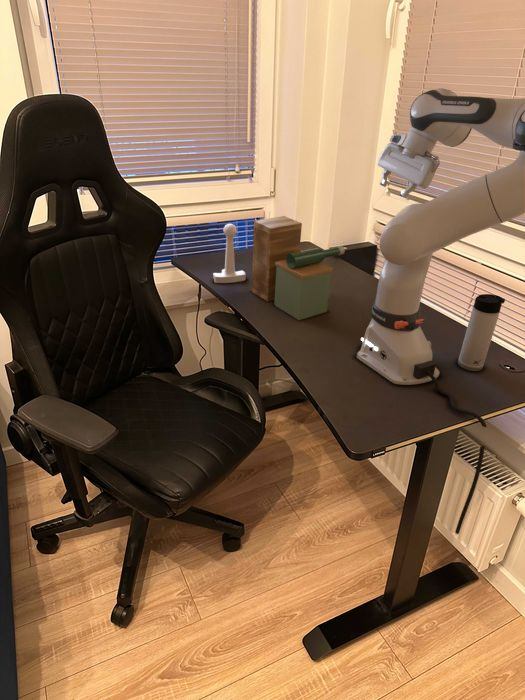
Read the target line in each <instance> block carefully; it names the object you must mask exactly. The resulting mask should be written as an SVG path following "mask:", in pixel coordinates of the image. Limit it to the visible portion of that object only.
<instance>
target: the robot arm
mask: <svg viewBox="0 0 525 700" xmlns="http://www.w3.org/2000/svg"><path fill="white" fill-rule="evenodd" d="M409 122H410V126H411V127H410V128H409V130H408V132H407V133H402V134H392V135H391V136H390V138H389V142H388V143H387V144H386V145H385V146H384V148H383V150H382V151H381V153H380V155H379V157H378V159H377V166H378V167H380V168H381V169H383V170H382V172H381V180H380V182H379V185H380V186H381V187H384V188H386V187H387V186H388V184H389V181H388V177H389V176H390V175H391V173H392V174H393V175H396V176H398V177H400V178H402V179H404V180H406V181H408V182H409V183H408V187H406V188H405V189H402V190H401V192H400V194H399V196H401V197H402V198H404V199H407V198H408V196H409V194H411V193H412V192H413V191H415V190H416V189H417V187H420V188H422V189H423V190H424V189H427V188H429V187H430V185H431V183H432V181H433V179H434V177H435V175H436V172H437V170H438V169H439V166H440V161H441V160H440V158H439V156H438V155H434V154H433V153H432V152H433V150H434V148H435V146H436V144H437V142H439V143H440V144H443V145H444V146H446V147H451V148H454V147H458V146H460V145H461V144H463V143H464V142H465V141H466V140H467V138H468V137H469V135H470V134H471V133H472V130H474V131H476V132H477V133H480V134H481V135H483V136H484V137H485V138H487V139H489V140H491V141H492V142H493V143H495V144H497V145H499V146H502V147H504V148H509V149H511V150H515V151H519V153H518V156H517V157H516V159H515V160H514V161H513V162H512V163H510V164H508V165H505V166H503V167H501V168H499V169H496V170H493V171H491V172H489V173H487V174H483V175H482V176H479V177H477V178H474V179H472V180H470V181H468V182H466V183H463V184H462V185H458V186H457V187H454V188H451V189H450V190H447V191H446V192H444V193H442V194H440V195H439V196H436V197H434V198H432V199H430V200H429V201H426V202H424V203H411V204H409V205H407V206H405V207H404V208H402V209H401V210H400V211H398V213H396V215H394V216H393V217H392V218H391V219H390V220H389V221H388V222H386V224H385V225H384V227H383V229H382V232H381V234H380V238H379V250H380V253H381V255H382V256H383V258H384V261H383V264H382V267H381V270H380V273H379V276H378V277H379V278H378V282H377V287H376V288H377V289H376V294H375V295H376V296H375V300H374V301H373V303H372V306H371V315H370V316H371V320H370V322H369V324H368V326H367V327H366V329H365V333H364V336H363V337H361V338H360V341H362V344H361V347H360V350H358V352H357V353H356V359H357V360H359V361H360V362H362V363H363V364H364V365H367V366H368V367H369V368H370V369H372V370H373V371H375V372H377V374H379V375H380V376H382V377H384V378H385V379H387V381H389V382H390V383H392V384H395V385H401V386H411V385H412V386H413V385H419V384H425V383H429V382H431V381H433V383H434V386H435V389H436V392H438V393H439V394H441V395H443V396H445V397H447V398H448V401H449V406H450V407H451V409H452V410H454V411H456V412H458V413H461V414H464V415H468V416H471V417H473V418H475V419H476V420H478V421H479V423H480V424H481V427H483V428H487V424H486V421H485V420H484V419H483V418H482V417H481V416H480V415H479V414H478V413H476V412H474V411H471V410H467V409H463V408H460V407H459V406H457V405H456V404H455V403H454V400H455V399H454V397H453V396H452V394H450V393H449V392H447V391H445V390H443V389H442V388H441V387H440V384H439V381H438V379H437V378H438V377H439V376H440V370H439V369H438V368H437V363H436V362H434V361H433V350H432V342H431V341H430V340H427V338H426V336H425V333H424V331H423V330H422V327H421V325H422V324H424V320H425V318H421V310H420V309H421V308H420V304H421V300H422V296H423V291H424V286H425V282H426V278H427V274H428V271H429V269H430V264H431V261H432V258H433V254H434V253H435V252H438V251H440V250H442V249H444V248H446V247H448V246H451V245H452V244H455V243H457V242H458V241H461V240H462V239H465V238H467V237H470V236H471V235H474V234H477V233H479V232H483V231H485V230H488V229H490V228H494V227H496V226H498V225H501V224H503V223H506V222H510V221H511V220H513V219H515V218H518V217H520V216H522V215H524V214H525V98H501V97H500V98H499V97H483V96H471V95H470V96H467V95H457V94H456V92H454V91H452V90H450V89H446V88H436V89H429V90H427V91H425V92H422V93H421V94H419V95H418V96H417V97H416V98H415V99H414V100H413V102H412V104H411V107H410V109H409ZM485 448H486V445H483V446H480V447H479V452H478V459H477V464H476V470H475V473H474V477H473V479H472V483H471V487H470V488H469V489H470V490H469V491H468V494H467V497H466V499H465V502H464V506H463V508H462V511H461V514H460V516H459V519H458V522H457V525H456V528H455V534H456V535H459V534H460V533H461V532H460V531H461V528H462V525H463V522H464V519H465V517H466V514H467V511H468V509H469V506H470V503H471V501H472V498H473V496H474V494H475V491H476V488H477V485H478V481H479V478H480V473H481V470H482V465H483V460H484V455H485Z"/></svg>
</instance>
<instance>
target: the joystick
mask: <svg viewBox="0 0 525 700" xmlns="http://www.w3.org/2000/svg"><path fill="white" fill-rule="evenodd" d="M222 229H223V235H225V237H226V242H225V257H224V258H225V259H224V268H223V269H221V272H213V273H212V279H213V282H214V283H215V284H229V283H231V284H232V283H238V282H244V281H246V277H247V276H246V272H245V271H244V270H238V271H237V270H236V265H235V244H234V243H235V242H234V238H235V236H236V234H237V232H238V229H237V227H236V225H235V224H234V223H226V224H225V225H224V226H223V228H222Z"/></svg>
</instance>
